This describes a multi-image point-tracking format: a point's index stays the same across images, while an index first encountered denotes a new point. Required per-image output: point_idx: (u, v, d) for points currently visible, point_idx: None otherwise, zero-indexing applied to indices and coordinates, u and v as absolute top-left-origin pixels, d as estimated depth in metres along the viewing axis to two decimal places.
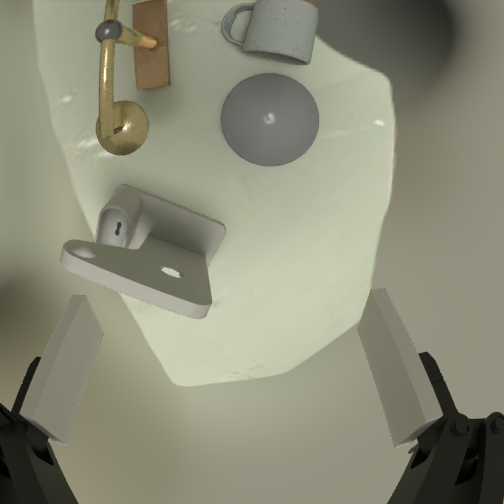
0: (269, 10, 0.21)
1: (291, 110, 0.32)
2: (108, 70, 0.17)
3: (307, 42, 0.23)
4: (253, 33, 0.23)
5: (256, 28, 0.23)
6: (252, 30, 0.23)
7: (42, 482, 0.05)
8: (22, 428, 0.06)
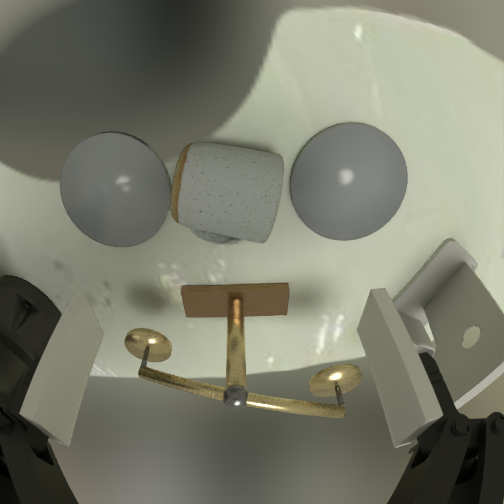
0: (205, 226, 0.21)
1: (343, 161, 0.24)
2: (281, 407, 0.22)
3: (252, 175, 0.20)
4: (240, 238, 0.23)
5: (233, 236, 0.23)
6: (235, 237, 0.23)
7: (42, 482, 0.05)
8: (22, 428, 0.06)
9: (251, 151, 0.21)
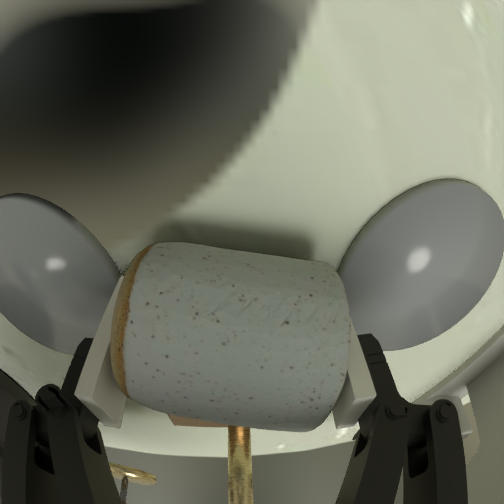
0: None
1: (429, 248, 0.13)
2: None
3: (284, 359, 0.08)
4: None
5: None
6: None
7: (89, 474, 0.06)
8: (76, 413, 0.08)
9: (279, 280, 0.09)
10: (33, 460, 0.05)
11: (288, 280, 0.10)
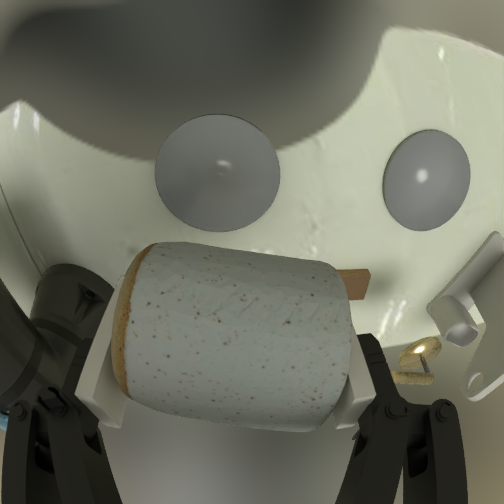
0: None
1: (427, 162, 0.25)
2: None
3: (286, 359, 0.08)
4: None
5: None
6: None
7: (89, 474, 0.06)
8: (76, 413, 0.08)
9: (280, 280, 0.09)
10: (33, 459, 0.05)
11: (289, 280, 0.10)
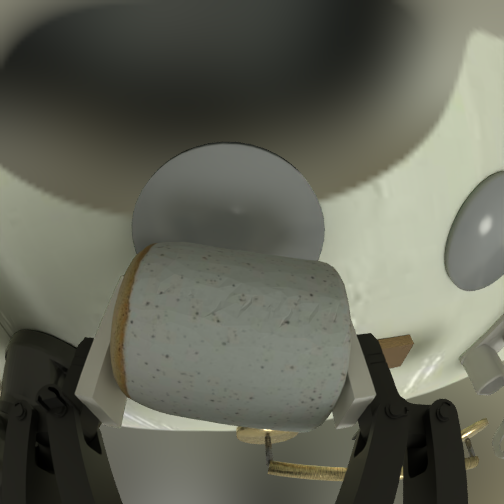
0: None
1: (498, 212, 0.17)
2: None
3: (285, 359, 0.08)
4: None
5: None
6: None
7: (89, 474, 0.06)
8: (76, 413, 0.08)
9: (279, 279, 0.09)
10: (33, 459, 0.05)
11: (288, 280, 0.10)
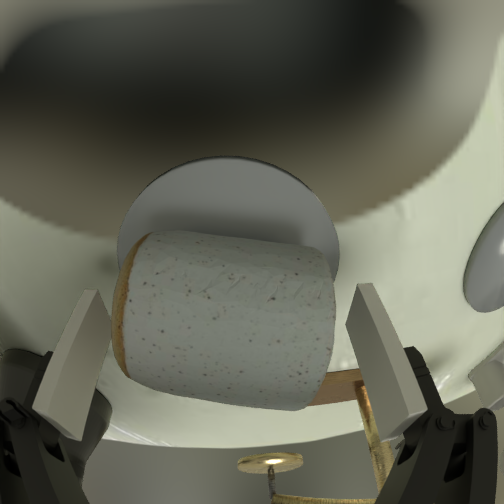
0: None
1: None
2: None
3: (272, 333, 0.09)
4: None
5: None
6: None
7: (53, 479, 0.05)
8: (35, 423, 0.07)
9: (266, 260, 0.10)
10: (3, 464, 0.05)
11: (275, 261, 0.10)
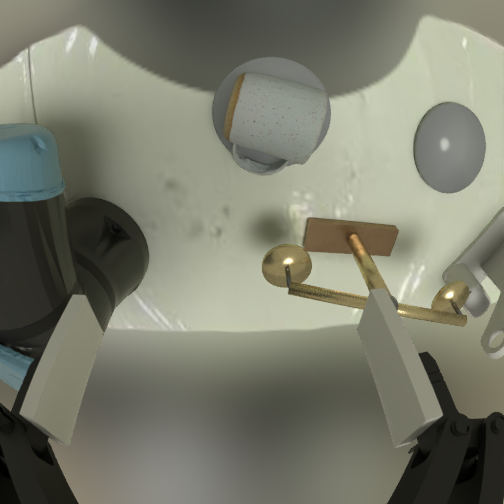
0: (255, 138, 0.22)
1: (451, 129, 0.26)
2: (424, 313, 0.24)
3: (301, 96, 0.20)
4: (284, 156, 0.24)
5: (278, 152, 0.24)
6: (279, 155, 0.24)
7: (42, 482, 0.05)
8: (22, 428, 0.06)
9: (298, 83, 0.22)
10: None
11: (301, 84, 0.22)
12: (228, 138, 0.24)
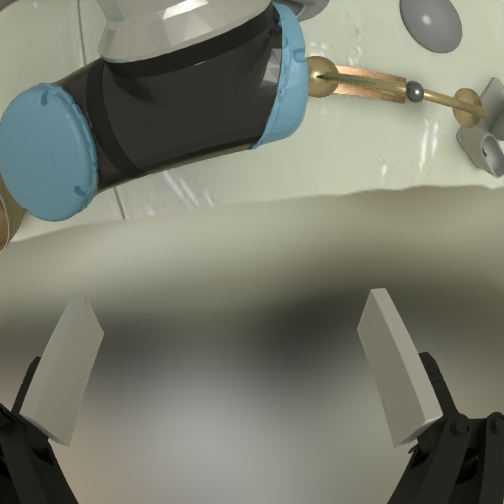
0: None
1: (427, 2, 0.24)
2: (448, 97, 0.22)
3: None
4: None
5: None
6: None
7: (42, 482, 0.05)
8: (22, 428, 0.06)
9: None
10: None
11: None
12: None
